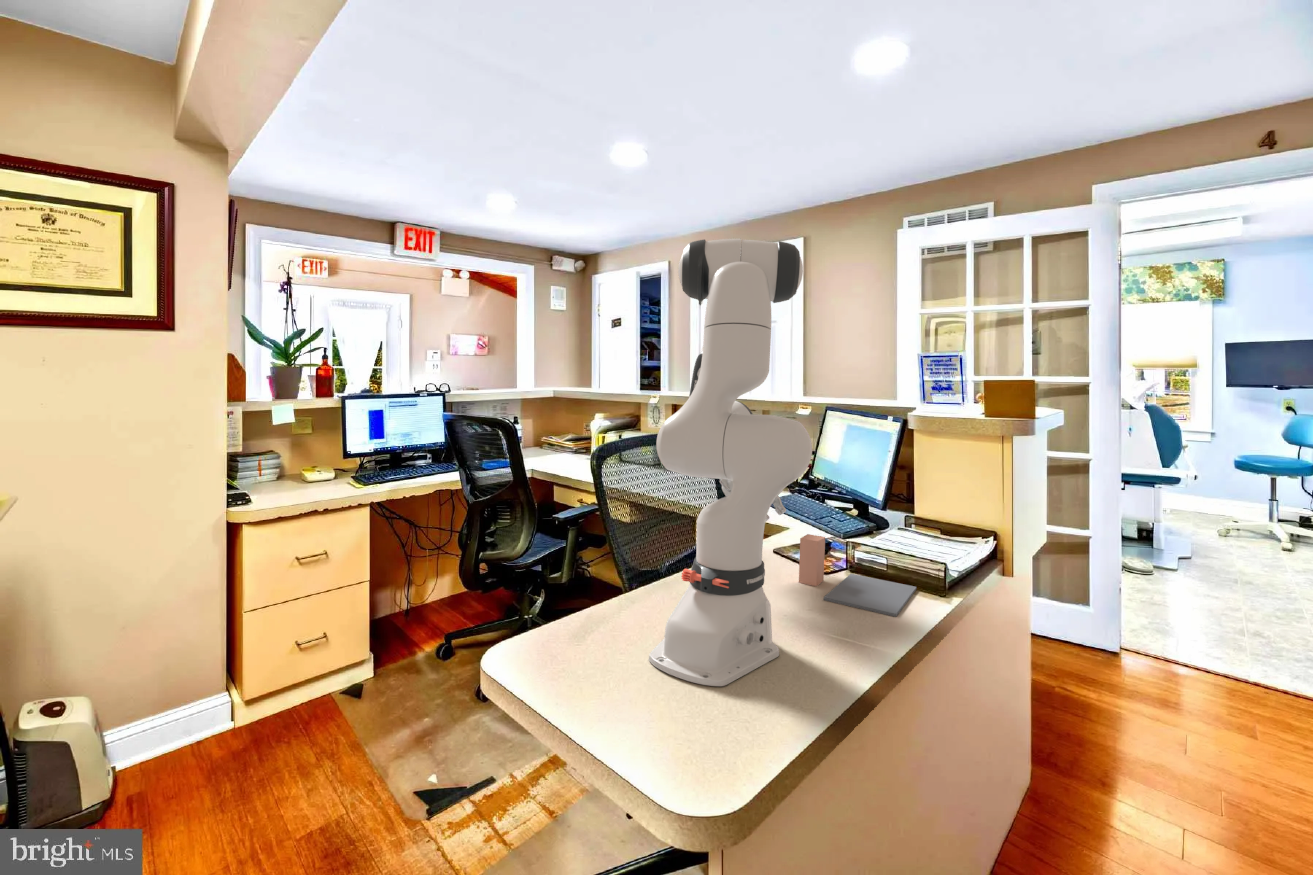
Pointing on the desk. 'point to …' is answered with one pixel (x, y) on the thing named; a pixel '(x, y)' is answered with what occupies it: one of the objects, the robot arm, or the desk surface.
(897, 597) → the mat
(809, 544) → the block
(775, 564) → the desk surface
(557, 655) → the desk surface
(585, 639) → the desk surface
